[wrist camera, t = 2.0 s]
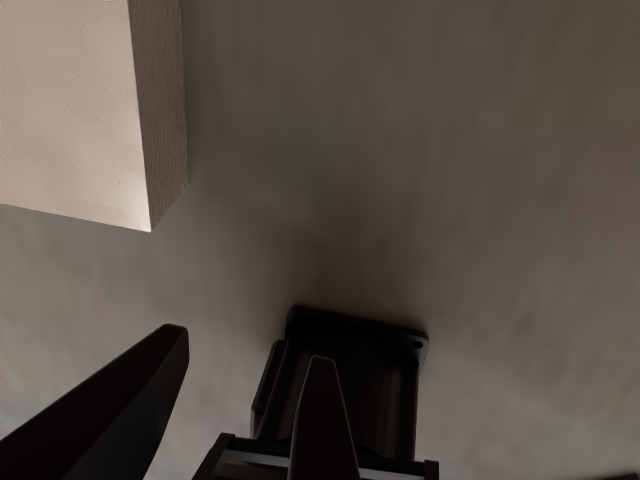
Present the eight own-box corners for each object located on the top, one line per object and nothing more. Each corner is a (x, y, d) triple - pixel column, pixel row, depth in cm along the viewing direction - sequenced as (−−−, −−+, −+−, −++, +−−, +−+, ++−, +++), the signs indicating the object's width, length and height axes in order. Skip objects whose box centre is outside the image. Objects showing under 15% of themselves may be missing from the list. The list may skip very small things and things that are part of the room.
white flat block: (180, -65, 18) (122, -44, 15) (191, 178, 23) (151, 232, 20) (-104, -105, 19) (-216, -94, 16) (-30, 137, 24) (-103, 183, 21)
